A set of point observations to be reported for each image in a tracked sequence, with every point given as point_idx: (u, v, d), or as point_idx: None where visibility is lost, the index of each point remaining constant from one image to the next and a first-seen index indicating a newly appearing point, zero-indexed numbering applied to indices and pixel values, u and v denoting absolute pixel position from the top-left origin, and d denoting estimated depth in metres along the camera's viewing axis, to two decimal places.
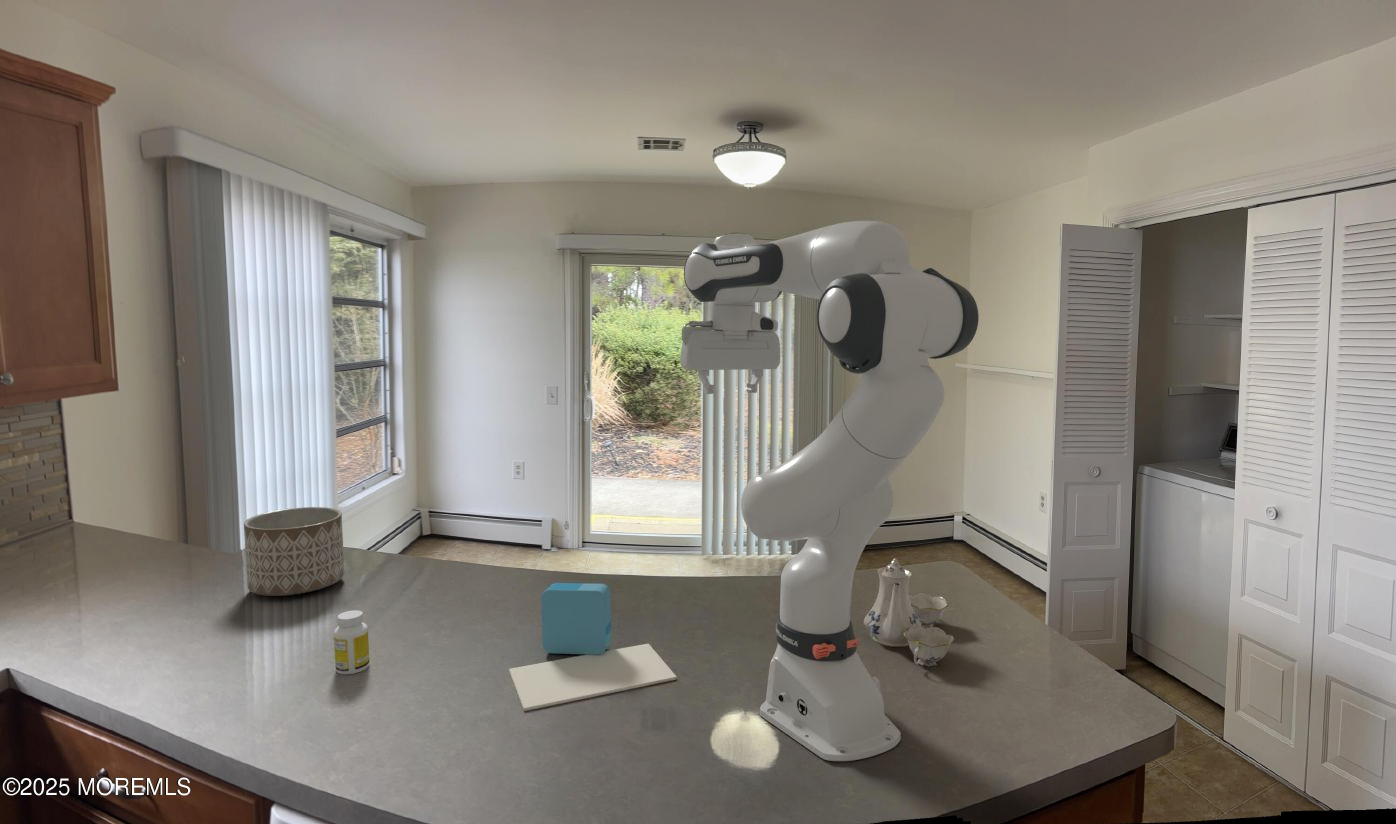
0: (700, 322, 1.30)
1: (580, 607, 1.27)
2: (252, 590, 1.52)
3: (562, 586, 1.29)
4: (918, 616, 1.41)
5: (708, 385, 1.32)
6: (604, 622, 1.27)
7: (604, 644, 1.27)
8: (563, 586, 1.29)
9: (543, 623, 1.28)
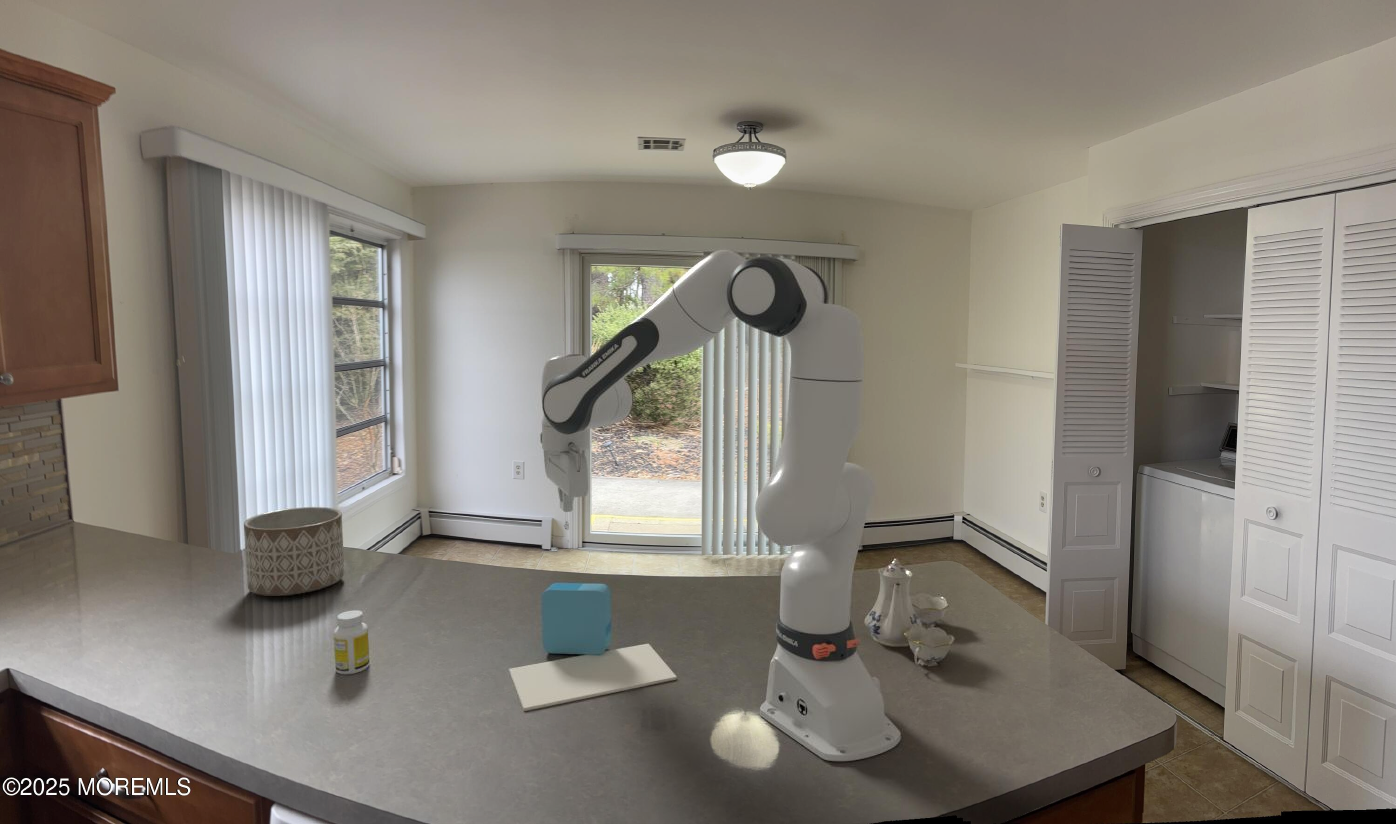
0: (576, 446, 1.27)
1: (580, 607, 1.27)
2: (252, 590, 1.52)
3: (562, 586, 1.29)
4: (919, 616, 1.41)
5: None
6: (604, 622, 1.27)
7: (604, 644, 1.27)
8: (563, 586, 1.29)
9: (543, 623, 1.28)
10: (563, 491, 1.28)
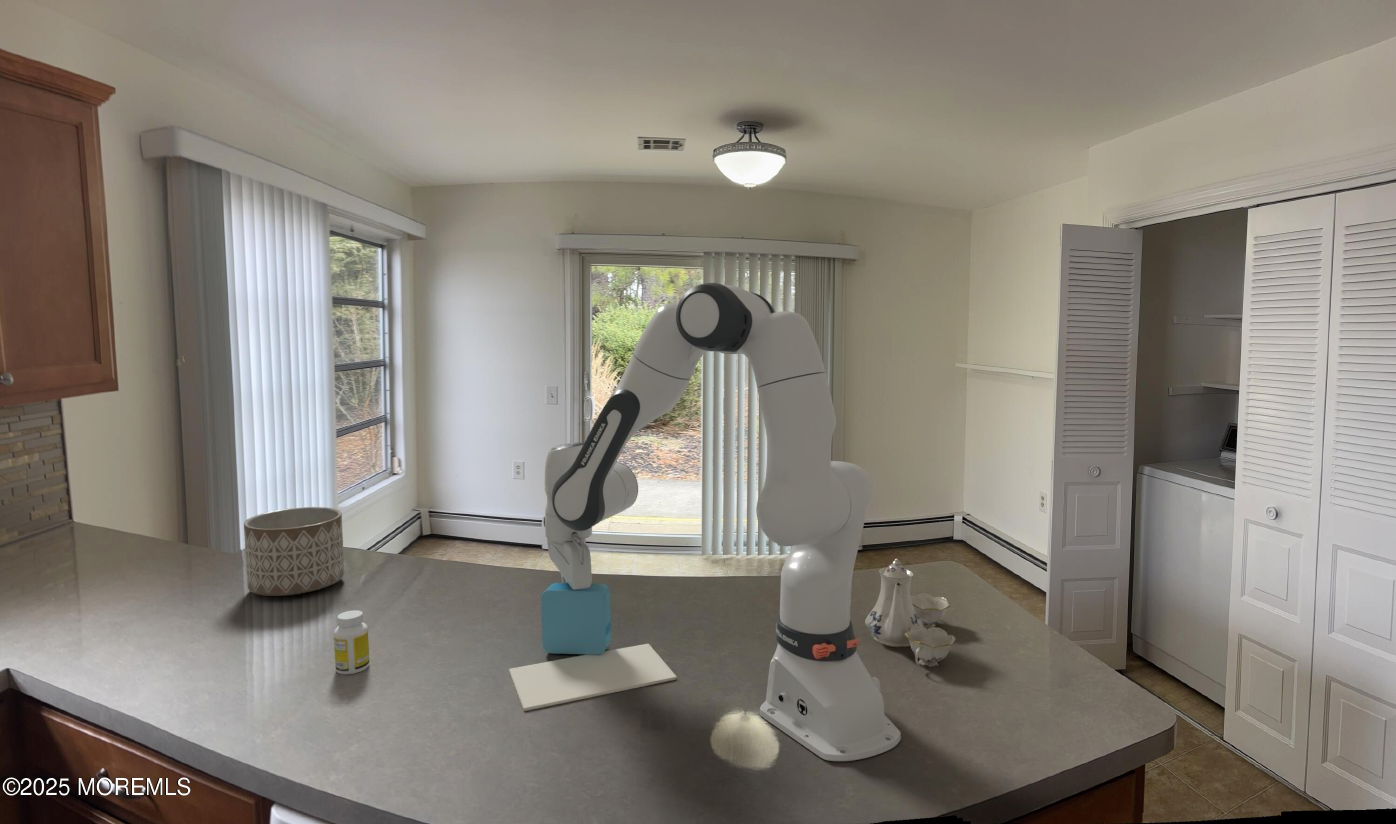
0: (579, 537, 1.27)
1: (579, 607, 1.27)
2: (252, 590, 1.52)
3: (561, 586, 1.29)
4: (920, 616, 1.41)
5: None
6: (604, 622, 1.26)
7: (604, 644, 1.27)
8: (562, 586, 1.29)
9: (543, 623, 1.28)
10: (566, 581, 1.29)
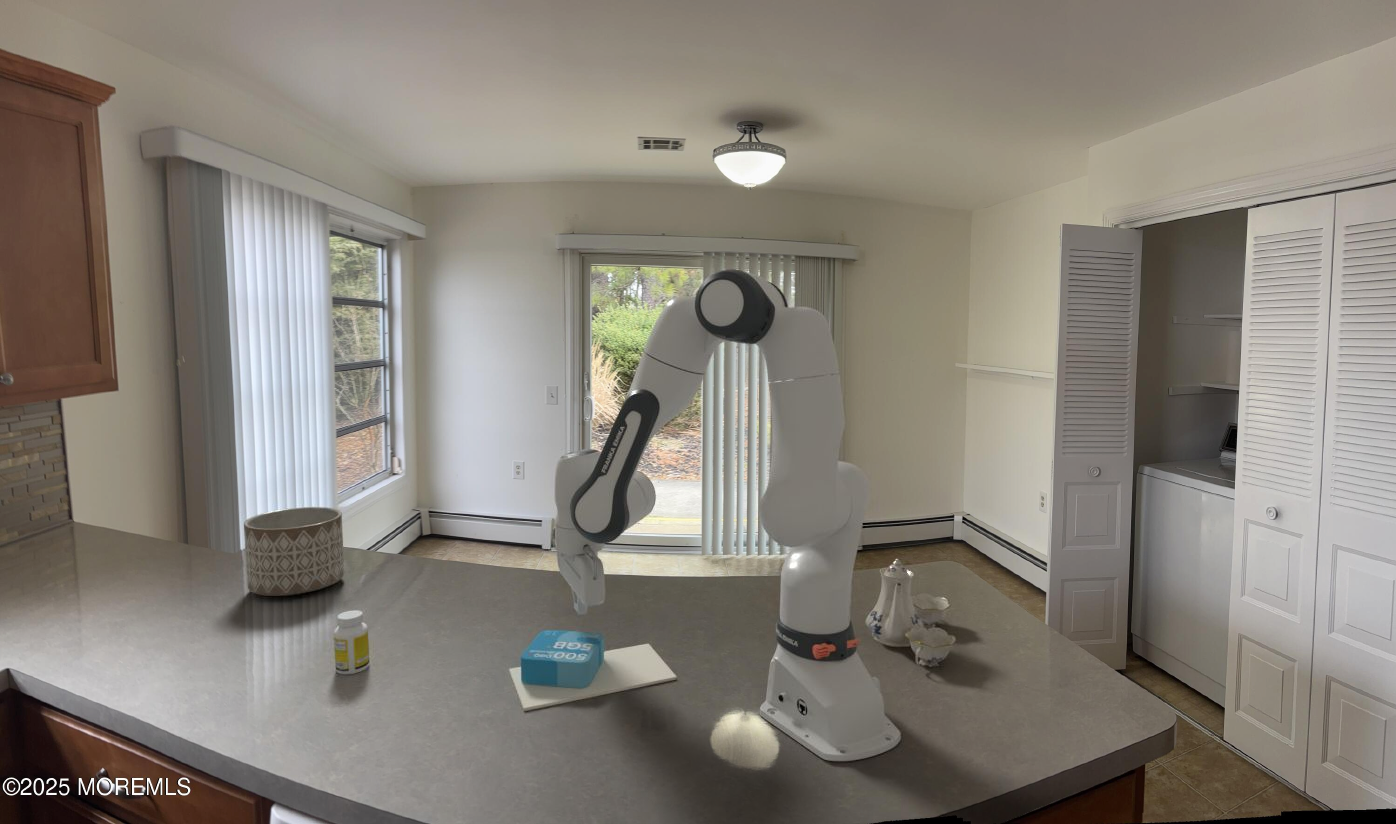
0: (592, 550, 1.20)
1: None
2: (252, 590, 1.52)
3: (537, 674, 1.16)
4: (920, 616, 1.41)
5: None
6: None
7: (601, 661, 1.25)
8: (538, 673, 1.16)
9: None
10: (578, 597, 1.21)
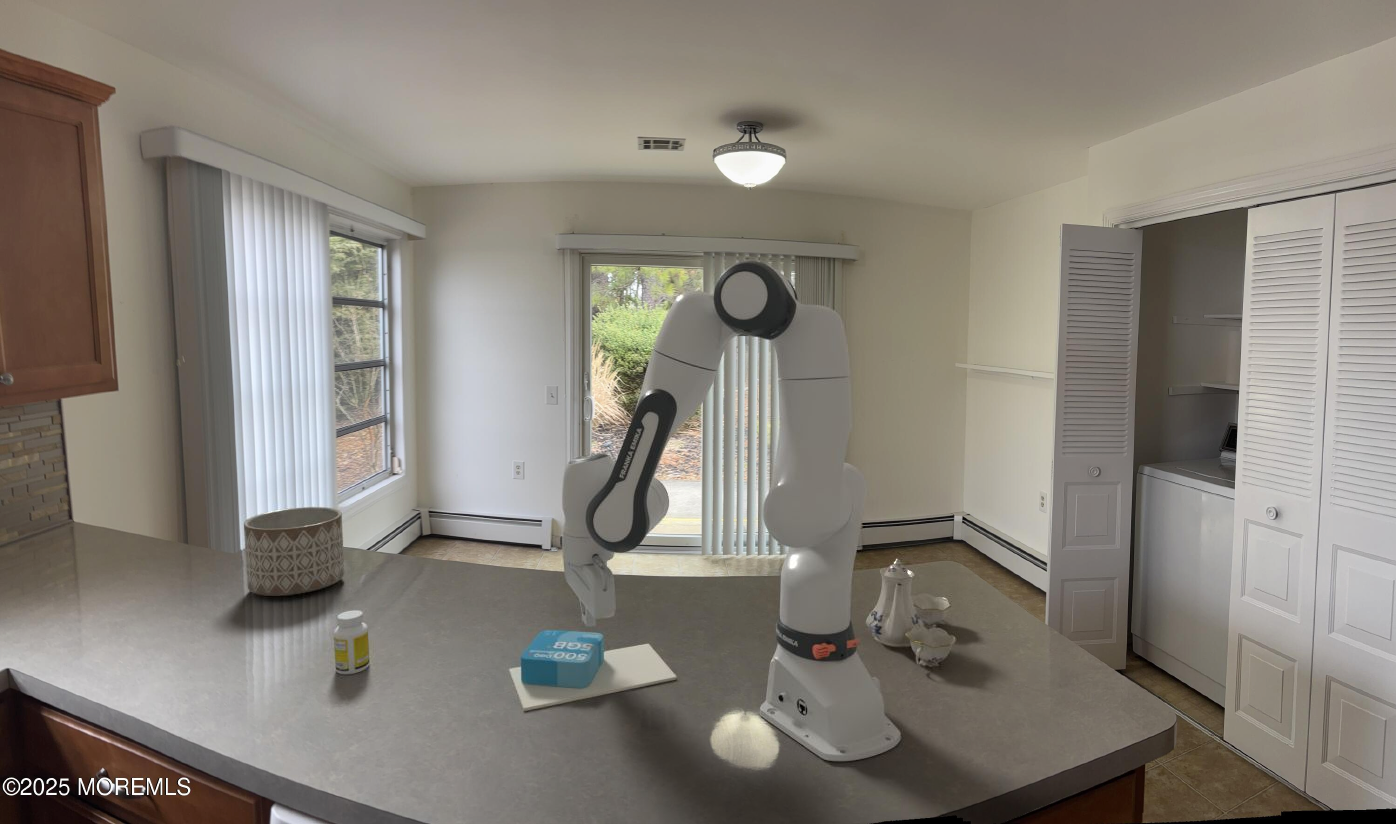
0: (601, 560, 1.14)
1: None
2: (252, 590, 1.52)
3: (537, 674, 1.16)
4: (921, 616, 1.41)
5: None
6: None
7: (601, 661, 1.25)
8: (538, 673, 1.16)
9: None
10: (587, 608, 1.16)
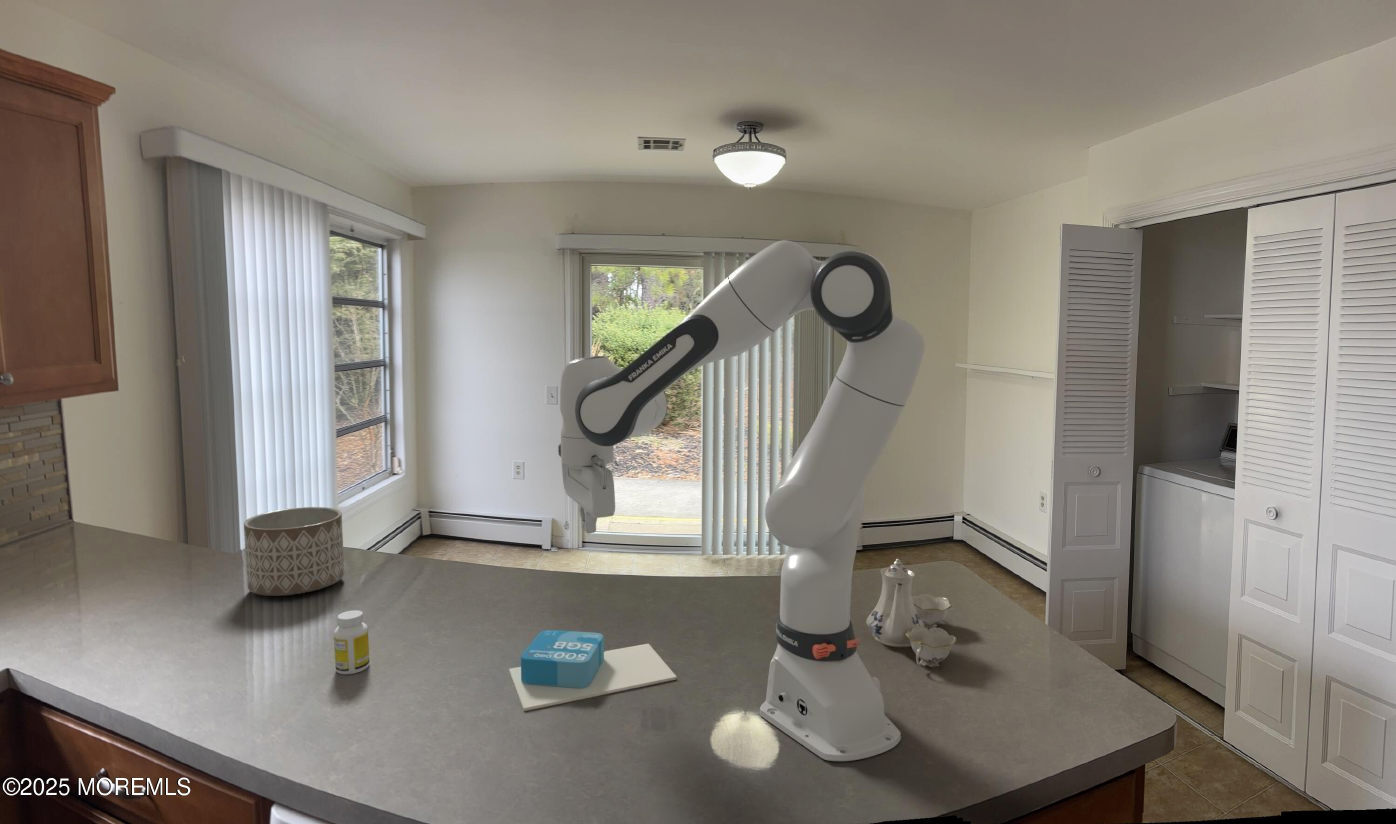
0: None
1: None
2: (252, 590, 1.52)
3: (537, 674, 1.16)
4: (921, 616, 1.41)
5: None
6: None
7: (601, 661, 1.25)
8: (538, 673, 1.16)
9: None
10: (586, 510, 1.14)
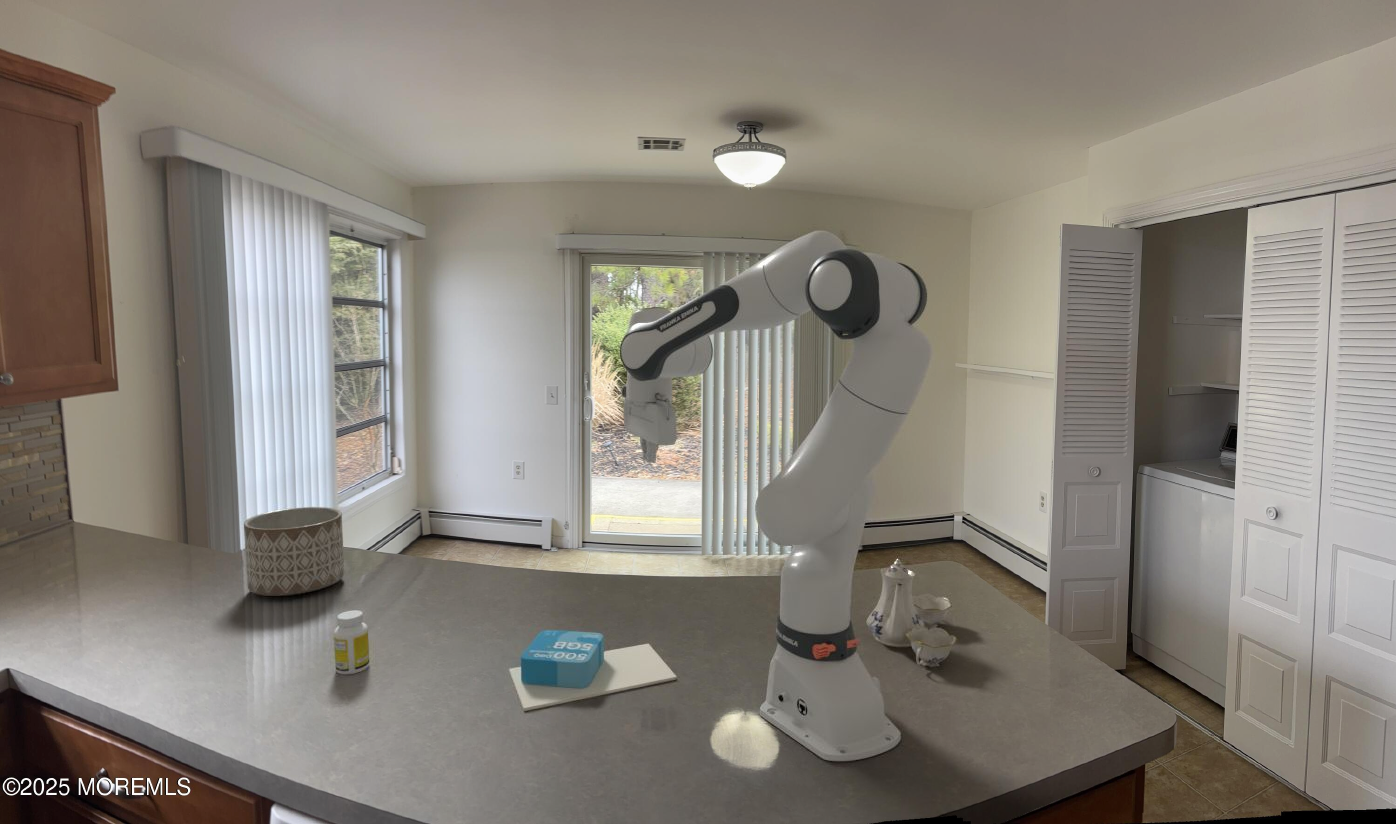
0: None
1: None
2: (252, 590, 1.52)
3: (537, 674, 1.16)
4: (921, 617, 1.41)
5: None
6: None
7: (601, 661, 1.25)
8: (538, 673, 1.16)
9: None
10: (650, 441, 1.31)
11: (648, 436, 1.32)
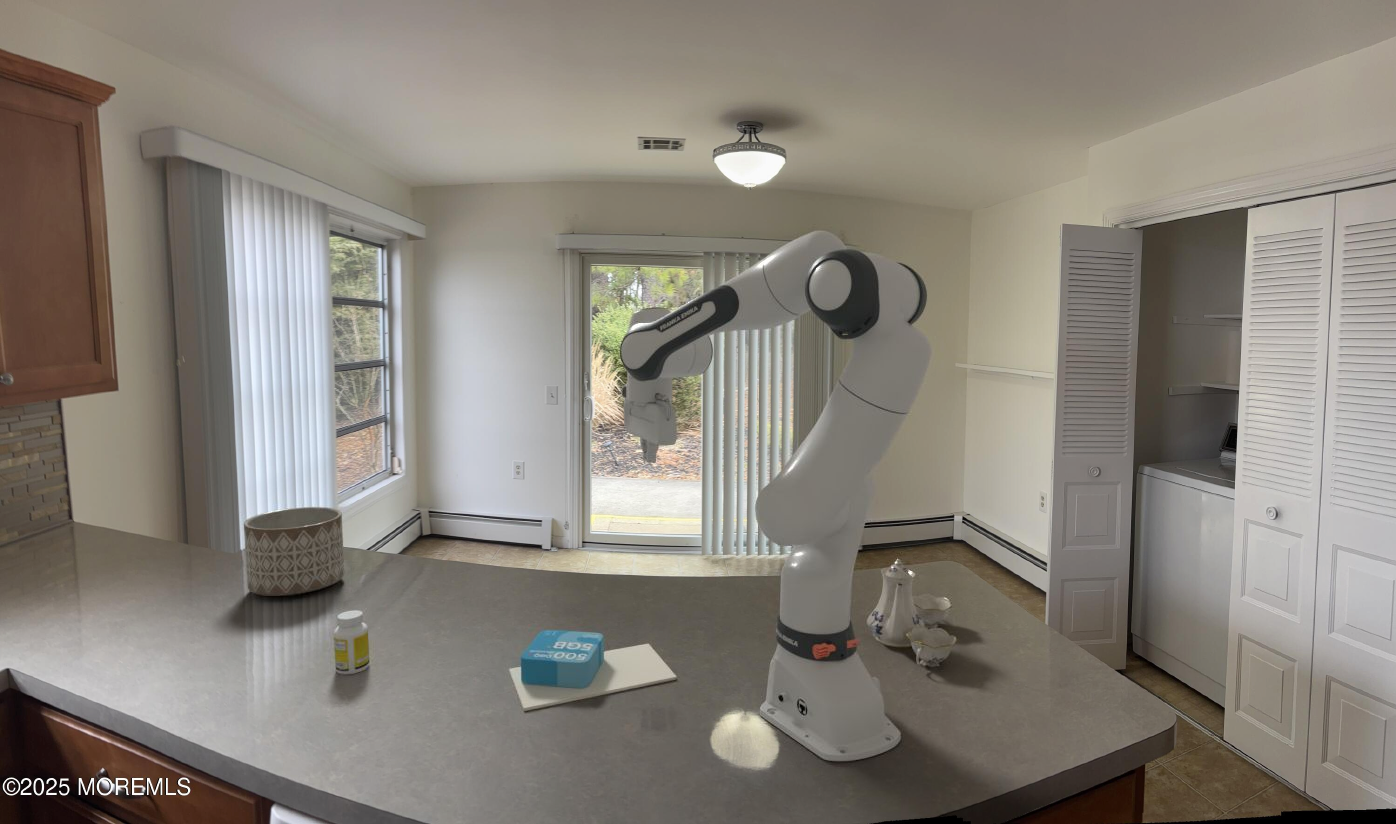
0: None
1: None
2: (252, 590, 1.52)
3: (537, 674, 1.16)
4: (922, 617, 1.41)
5: None
6: None
7: (601, 661, 1.25)
8: (538, 673, 1.16)
9: None
10: (650, 441, 1.31)
11: (648, 436, 1.32)
